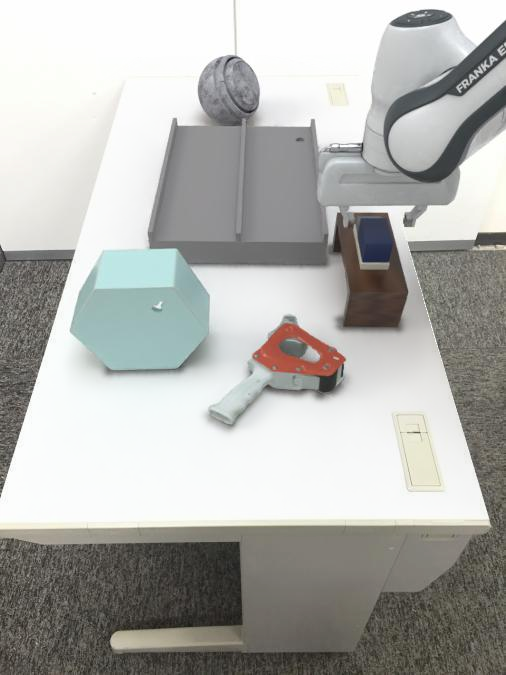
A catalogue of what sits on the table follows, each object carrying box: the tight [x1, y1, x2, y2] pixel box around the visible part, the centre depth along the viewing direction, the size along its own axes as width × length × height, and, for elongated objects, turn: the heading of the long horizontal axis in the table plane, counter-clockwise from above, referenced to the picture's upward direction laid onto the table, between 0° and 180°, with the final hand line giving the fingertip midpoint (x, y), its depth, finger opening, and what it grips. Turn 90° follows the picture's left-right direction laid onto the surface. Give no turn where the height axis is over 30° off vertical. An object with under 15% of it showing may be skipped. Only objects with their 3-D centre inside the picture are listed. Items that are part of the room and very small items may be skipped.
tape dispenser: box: [207, 313, 347, 425], centre depth 79 cm, size 18×5×20 cm
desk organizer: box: [147, 117, 330, 266], centre depth 107 cm, size 32×40×7 cm
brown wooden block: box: [331, 211, 410, 328], centre depth 91 cm, size 9×20×8 cm, turn 0°
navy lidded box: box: [353, 216, 393, 270], centre depth 86 cm, size 10×4×5 cm, turn 0°
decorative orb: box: [197, 54, 261, 126], centre depth 125 cm, size 15×14×15 cm
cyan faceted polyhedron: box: [69, 248, 211, 371], centre depth 77 cm, size 17×8×21 cm
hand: (378, 225), depth 84 cm, fingers open, 8 cm apart
